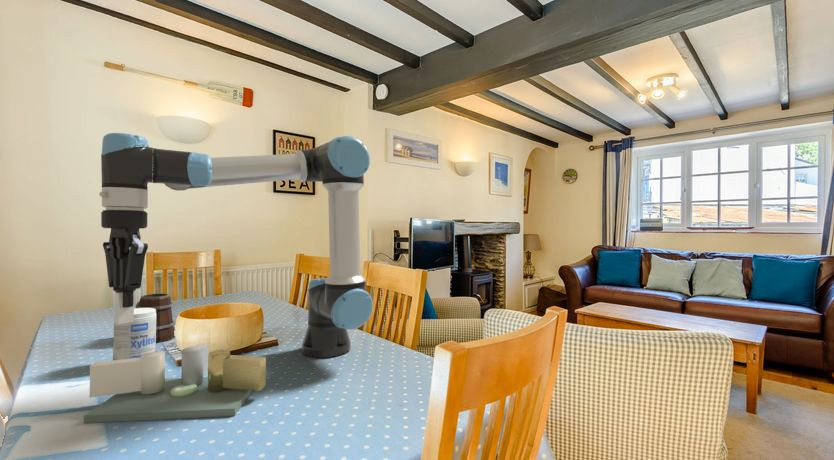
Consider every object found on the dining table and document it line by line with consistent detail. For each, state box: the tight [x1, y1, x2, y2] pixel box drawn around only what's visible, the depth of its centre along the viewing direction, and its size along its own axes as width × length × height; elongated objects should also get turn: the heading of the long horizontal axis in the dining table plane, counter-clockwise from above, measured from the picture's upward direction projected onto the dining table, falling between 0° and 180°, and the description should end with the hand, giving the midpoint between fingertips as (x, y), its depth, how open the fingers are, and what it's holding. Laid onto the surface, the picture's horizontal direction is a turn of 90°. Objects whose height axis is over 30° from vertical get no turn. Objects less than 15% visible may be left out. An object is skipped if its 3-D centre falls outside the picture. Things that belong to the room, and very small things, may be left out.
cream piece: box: [89, 350, 166, 398], centre depth 80 cm, size 4×13×8 cm, turn 113°
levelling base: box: [83, 344, 254, 424], centre depth 83 cm, size 28×19×10 cm
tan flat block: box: [207, 349, 267, 392], centre depth 83 cm, size 4×13×8 cm, turn 83°
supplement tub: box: [112, 307, 157, 360], centre depth 103 cm, size 10×10×15 cm
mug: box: [135, 293, 176, 344], centre depth 125 cm, size 16×12×15 cm
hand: (124, 322), depth 76 cm, fingers closed
